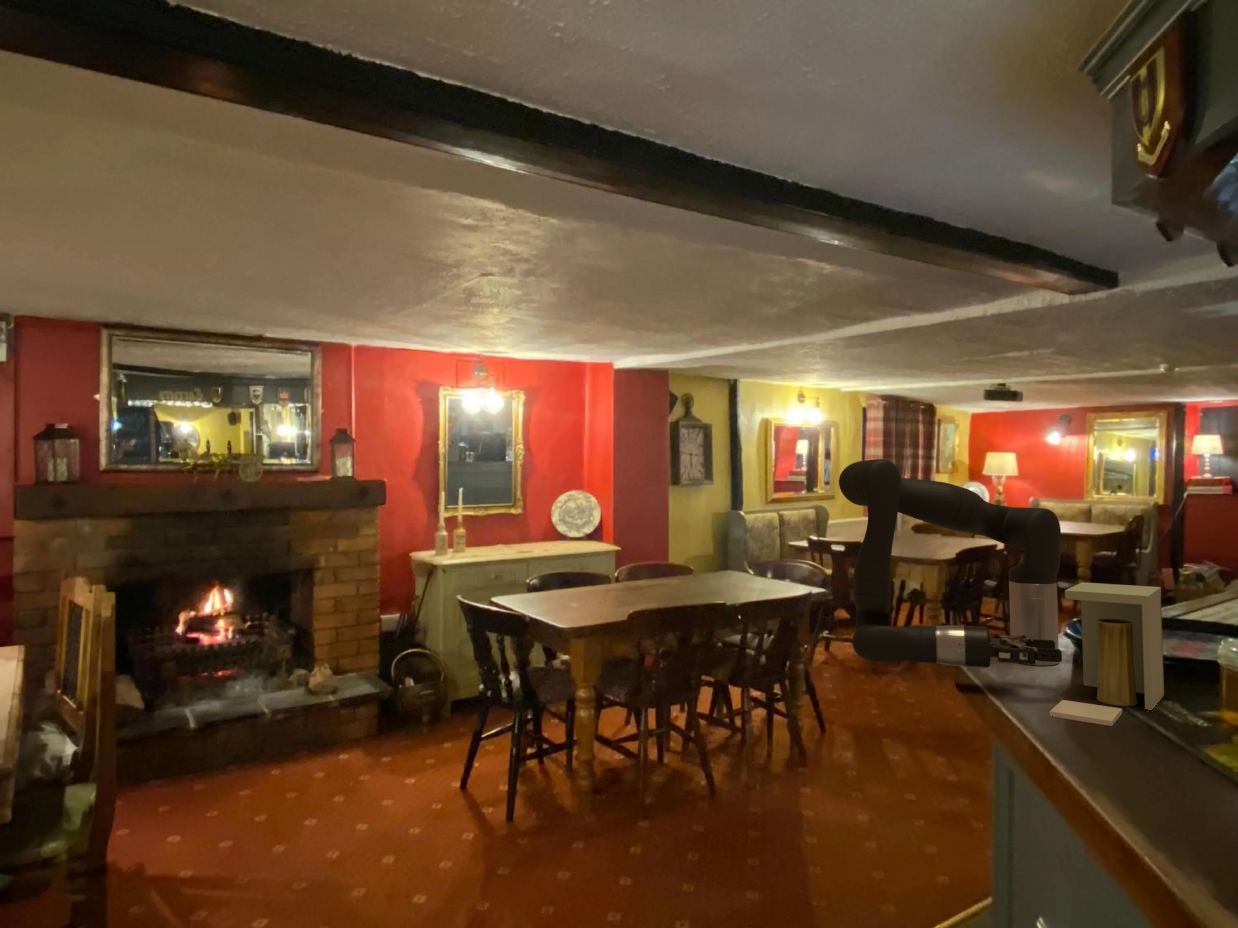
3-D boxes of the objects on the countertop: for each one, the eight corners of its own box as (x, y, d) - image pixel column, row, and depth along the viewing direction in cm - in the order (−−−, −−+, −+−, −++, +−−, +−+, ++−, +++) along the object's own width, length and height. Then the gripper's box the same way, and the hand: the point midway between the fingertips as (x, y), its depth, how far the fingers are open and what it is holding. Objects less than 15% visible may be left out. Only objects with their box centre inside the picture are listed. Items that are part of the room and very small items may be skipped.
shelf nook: (1085, 683, 155) (1082, 582, 156) (1164, 694, 147) (1160, 587, 147) (1067, 699, 145) (1064, 590, 145) (1152, 711, 136) (1148, 596, 137)
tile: (1062, 704, 142) (1062, 699, 142) (1122, 713, 136) (1122, 708, 136) (1049, 716, 135) (1049, 711, 135) (1111, 726, 129) (1111, 720, 129)
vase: (1143, 702, 142) (1140, 621, 143) (1128, 708, 139) (1126, 625, 139) (1105, 695, 147) (1103, 616, 147) (1090, 701, 143) (1088, 620, 144)
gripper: (963, 632, 147) (1063, 637, 141) (960, 619, 161) (1052, 623, 155) (964, 674, 147) (1064, 680, 141) (961, 657, 160) (1053, 663, 155)
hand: (1058, 650), depth 148 cm, fingers open, 8 cm apart
